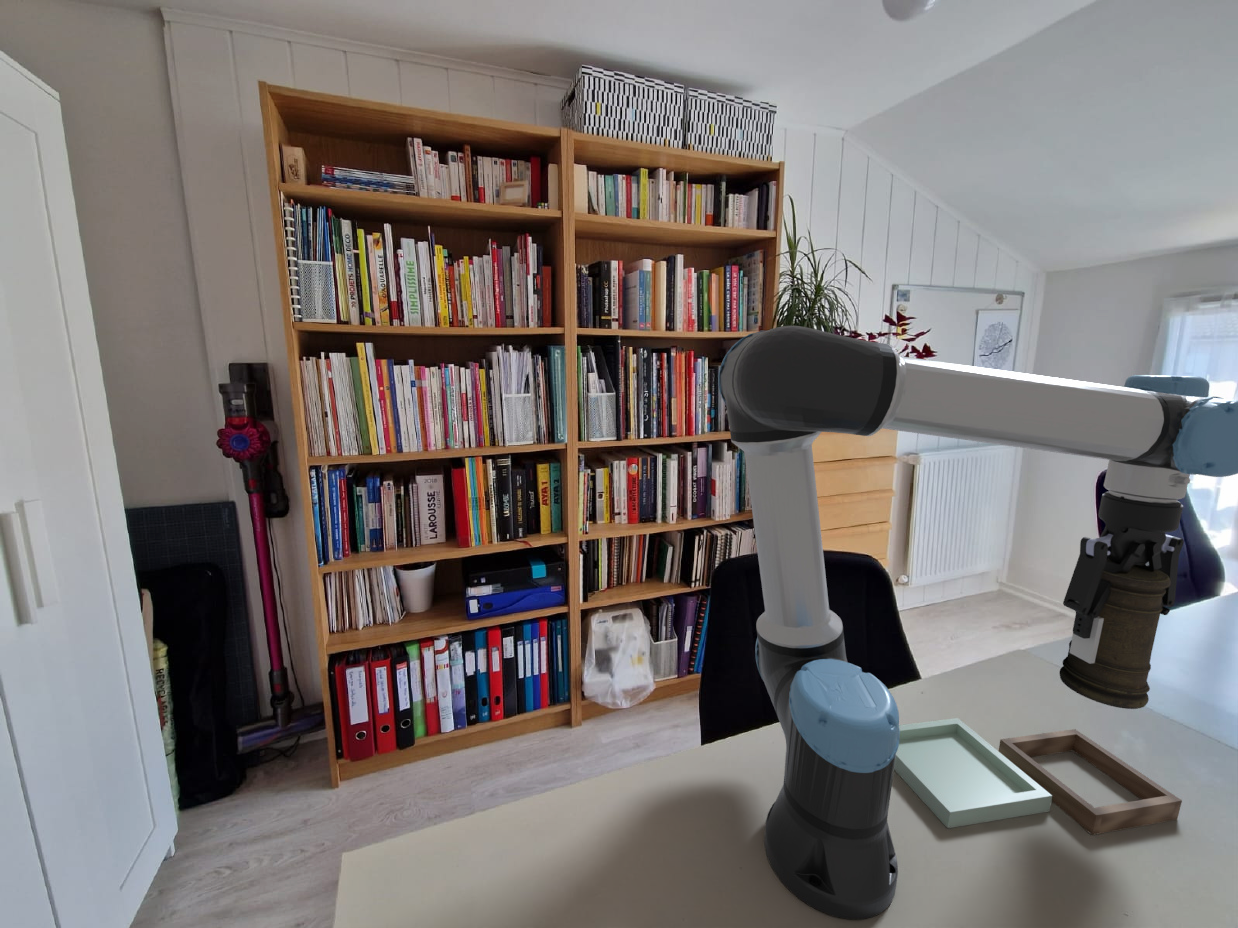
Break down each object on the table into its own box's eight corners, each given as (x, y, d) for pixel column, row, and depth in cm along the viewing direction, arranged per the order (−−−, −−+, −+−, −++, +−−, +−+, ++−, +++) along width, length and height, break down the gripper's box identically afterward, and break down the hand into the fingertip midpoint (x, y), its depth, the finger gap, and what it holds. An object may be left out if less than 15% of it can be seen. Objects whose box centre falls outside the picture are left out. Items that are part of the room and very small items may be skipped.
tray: (947, 828, 68) (950, 812, 68) (869, 742, 84) (871, 728, 83) (1049, 811, 71) (1052, 795, 71) (955, 731, 87) (957, 717, 86)
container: (1165, 711, 68) (1197, 583, 65) (1096, 709, 68) (1124, 581, 65) (1104, 671, 77) (1129, 556, 74) (1043, 669, 77) (1065, 555, 74)
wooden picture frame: (1091, 834, 68) (1096, 815, 67) (997, 756, 81) (1000, 739, 81) (1177, 819, 70) (1182, 800, 70) (1071, 745, 84) (1075, 729, 83)
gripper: (1108, 506, 62) (1072, 678, 66) (1242, 500, 66) (1200, 664, 70) (1046, 490, 69) (1018, 646, 74) (1171, 486, 73) (1137, 635, 77)
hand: (1107, 655), depth 72 cm, fingers closed on container, 8 cm apart
